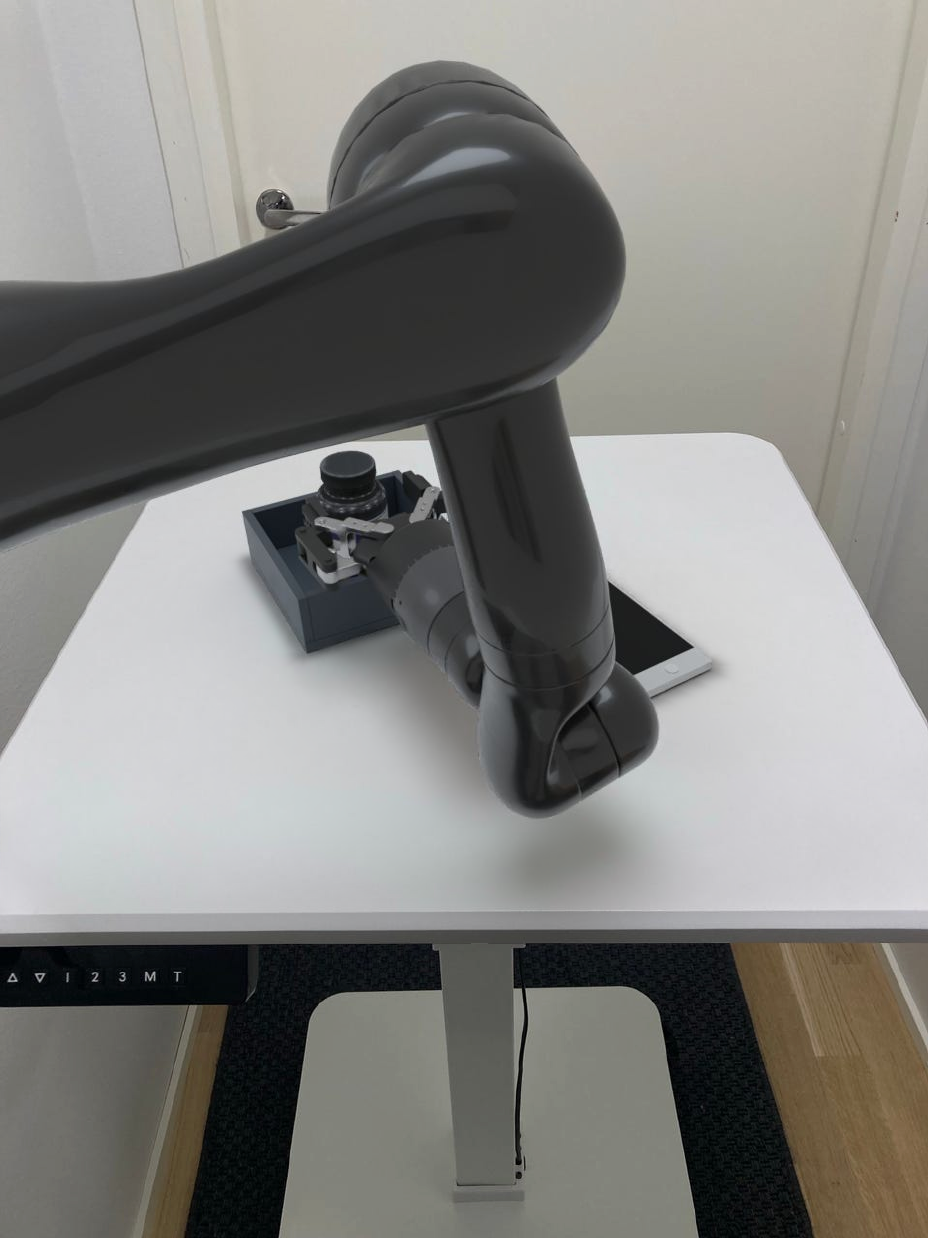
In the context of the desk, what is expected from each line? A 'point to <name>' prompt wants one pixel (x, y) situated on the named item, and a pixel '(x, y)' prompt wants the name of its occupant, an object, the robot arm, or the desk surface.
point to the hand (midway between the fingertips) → (358, 493)
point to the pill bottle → (351, 489)
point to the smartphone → (652, 645)
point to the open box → (298, 591)
